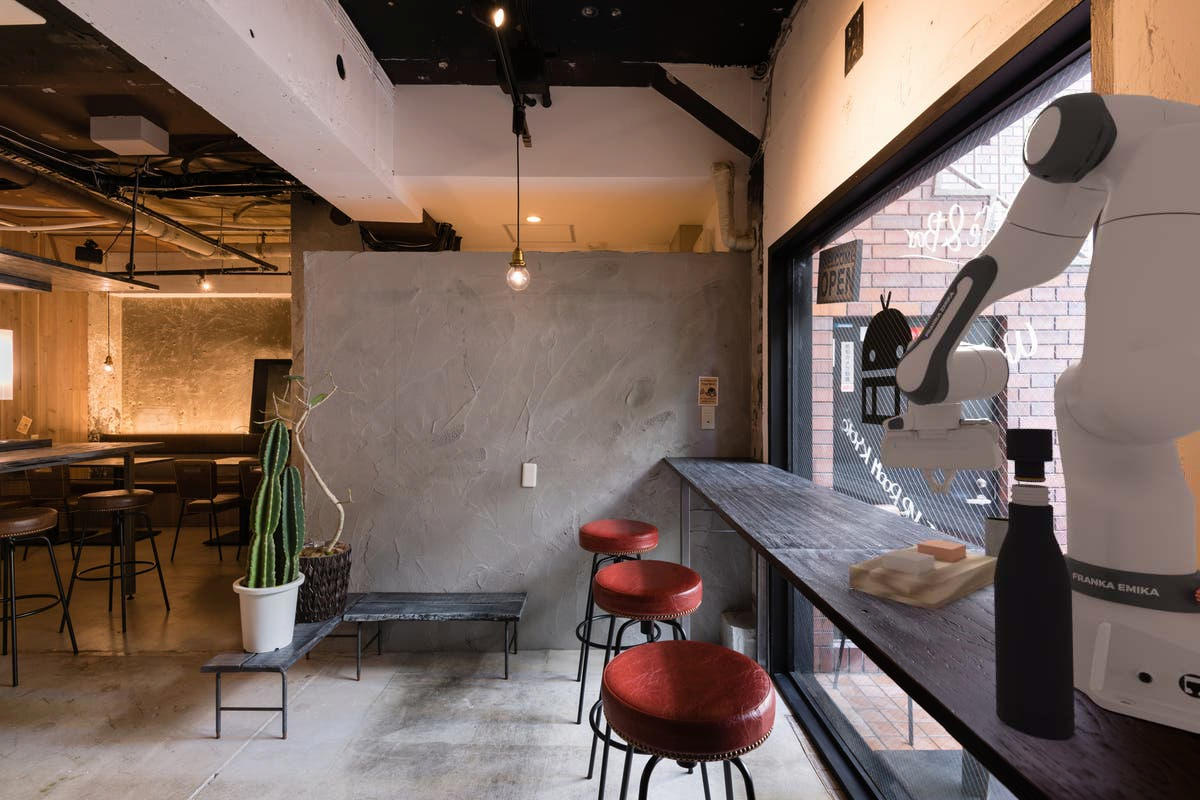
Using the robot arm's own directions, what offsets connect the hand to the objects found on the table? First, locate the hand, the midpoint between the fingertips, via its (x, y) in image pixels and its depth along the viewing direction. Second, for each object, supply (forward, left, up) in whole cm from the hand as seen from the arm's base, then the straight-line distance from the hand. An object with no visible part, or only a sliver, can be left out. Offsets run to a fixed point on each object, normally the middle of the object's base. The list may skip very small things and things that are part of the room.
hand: (940, 493), depth 109 cm
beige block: (0, +13, -14) cm, 19 cm away
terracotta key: (0, 0, -14) cm, 14 cm away
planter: (-5, -13, -16) cm, 22 cm away
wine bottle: (-28, +46, -16) cm, 56 cm away
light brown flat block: (0, +6, -16) cm, 17 cm away
